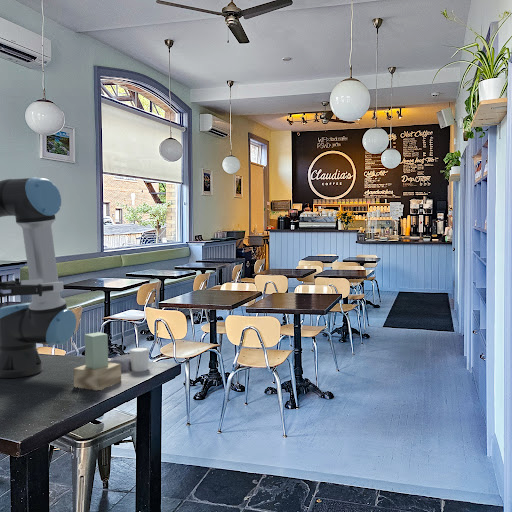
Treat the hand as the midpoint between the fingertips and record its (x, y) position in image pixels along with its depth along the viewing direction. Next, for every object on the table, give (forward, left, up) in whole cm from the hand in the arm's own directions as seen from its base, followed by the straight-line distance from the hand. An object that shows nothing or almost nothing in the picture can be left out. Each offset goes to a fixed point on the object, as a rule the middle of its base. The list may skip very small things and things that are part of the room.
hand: (52, 284), depth 160 cm
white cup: (-3, +31, -32) cm, 45 cm away
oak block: (+3, +12, -32) cm, 35 cm away
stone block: (-11, +29, -33) cm, 45 cm away
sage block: (+2, +12, -26) cm, 29 cm away
